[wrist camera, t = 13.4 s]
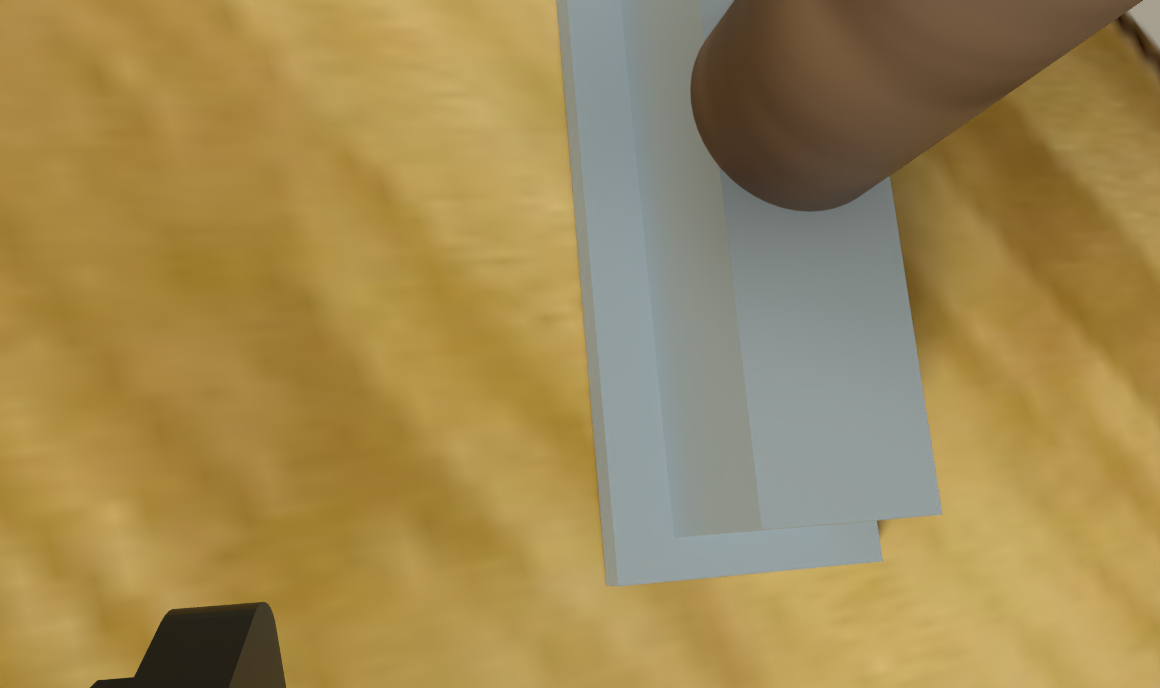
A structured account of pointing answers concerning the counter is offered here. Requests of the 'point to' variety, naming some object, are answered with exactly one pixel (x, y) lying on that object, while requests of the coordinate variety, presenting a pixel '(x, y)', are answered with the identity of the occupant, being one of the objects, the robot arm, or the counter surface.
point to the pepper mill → (864, 83)
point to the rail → (728, 330)
